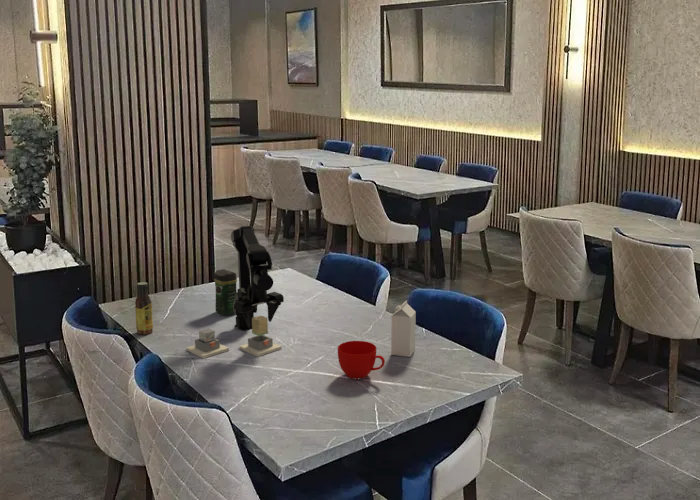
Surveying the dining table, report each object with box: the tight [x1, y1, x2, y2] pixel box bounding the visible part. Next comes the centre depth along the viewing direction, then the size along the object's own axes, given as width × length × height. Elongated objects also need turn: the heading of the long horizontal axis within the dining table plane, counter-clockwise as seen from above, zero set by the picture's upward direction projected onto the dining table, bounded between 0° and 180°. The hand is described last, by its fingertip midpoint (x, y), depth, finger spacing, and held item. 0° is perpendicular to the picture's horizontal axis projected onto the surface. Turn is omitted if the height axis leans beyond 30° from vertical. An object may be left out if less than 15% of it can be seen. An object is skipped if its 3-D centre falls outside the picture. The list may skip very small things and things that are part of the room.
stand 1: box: [185, 337, 230, 359], centre depth 272 cm, size 11×11×4 cm
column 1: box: [198, 328, 216, 343], centre depth 272 cm, size 4×4×6 cm
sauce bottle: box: [134, 281, 154, 335], centre depth 289 cm, size 6×6×20 cm
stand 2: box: [238, 334, 282, 357], centre depth 274 cm, size 11×11×4 cm
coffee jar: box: [213, 268, 238, 317], centre depth 313 cm, size 10×8×19 cm
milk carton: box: [390, 300, 417, 358], centre depth 269 cm, size 7×7×19 cm
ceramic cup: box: [337, 340, 386, 380], centre depth 249 cm, size 13×17×10 cm
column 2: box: [251, 315, 269, 336], centre depth 273 cm, size 4×4×6 cm
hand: (259, 324), depth 272 cm, fingers open, 9 cm apart
